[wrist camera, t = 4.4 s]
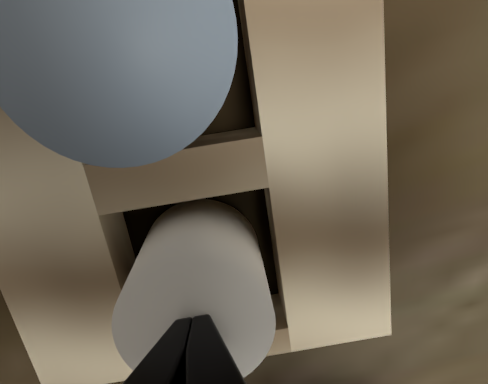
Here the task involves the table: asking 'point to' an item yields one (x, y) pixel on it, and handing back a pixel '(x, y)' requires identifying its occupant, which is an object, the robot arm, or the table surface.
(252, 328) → the button cream
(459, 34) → the table surface
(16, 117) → the button slate
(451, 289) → the table surface
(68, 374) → the board
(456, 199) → the table surface
